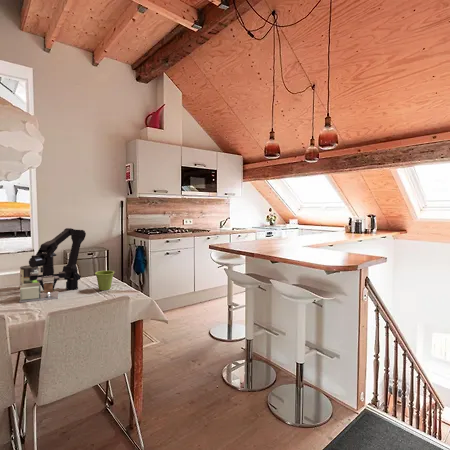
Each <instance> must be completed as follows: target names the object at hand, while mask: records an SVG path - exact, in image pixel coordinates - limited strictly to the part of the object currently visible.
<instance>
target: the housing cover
mask: <svg viewBox="0 0 450 450" xmlns="http://www.w3.org/2000/svg"><path fill="white" fill-rule="evenodd" d="M41 289H42V286H41V285H40V283H39V282H38V283H27V284H23V285H22V286H21V285H20V288H19V298H20V299H19V300H24V299H34V298H39V293H42V292H41Z"/></svg>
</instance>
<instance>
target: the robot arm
mask: <svg viewBox="0 0 450 450" xmlns="http://www.w3.org/2000/svg"><path fill="white" fill-rule="evenodd" d="M86 235H87V234H86V231H85V230H84V229H74V228H71V227H70V228H69V227H67V228H65V229H63V231H62V232H60V233H59V234H58V235H56V236H55V237H54V238H53V239H50V240H47V241H45V242H43V243H42V244H41V245H39V246H40V247H39V249H38V250H37V252H36V254H33V255H31V256H30V258H29V260H28V265H30V267H32V268H34V267H38V266H39V267H40V273H42V274H39V275H38V274H31V275H30V277H29V281H33V280H36V279H37V282H39V283H40V285H41V289H42V292H44V278H45V279H49V278H53V291H54V290H55V286H56V283H57V282H58V280H61V279H63V280H66V281H65V289H66V291H71V290H79V283H78V282H79V280H81V277H82V275H80V274H79V273H78V271H79V270H78V266H77V263H78V257H79V254H80V253H79V252H80V249H81V245H82V243H83V242H84V241H85V238H86ZM70 236H71V237H70ZM69 237H70V238H71V239H70V240H71V242H72V243H71V248H70V252H69V255H68V256H69V257H68V260H67V264H66V265H63V267H62V271H58V273H55V269H54V268H55V267H54V265H55V263H54V262H55V261H54V257H56V256H57V254H56V253H55V252H56V250H57V249H58V247H59V245H60V244H62V243H63V242H64V241H66V239H68V238H69ZM39 267H38V268H39Z"/></svg>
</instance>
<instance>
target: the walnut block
mask: <svg viewBox="0 0 450 450" xmlns="http://www.w3.org/2000/svg"><path fill="white" fill-rule="evenodd" d="M53 282H54V281H53ZM53 282H45V283H44V282H43V283H44V291H43V293H47V292H50V293H51V292H54V290H53Z"/></svg>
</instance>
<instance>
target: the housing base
mask: <svg viewBox="0 0 450 450" xmlns="http://www.w3.org/2000/svg"><path fill="white" fill-rule="evenodd" d="M58 298H59V290H58V291H56V290H55V291H53V292H51V293H50V292H47V293H44V292H40V293H39V298H34V299H24V300H20V299H19V300H18V303H19V304H21V303H30V302H37V301H38V302H39V301H40V302H41V301H48V300H54V299H58Z"/></svg>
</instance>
